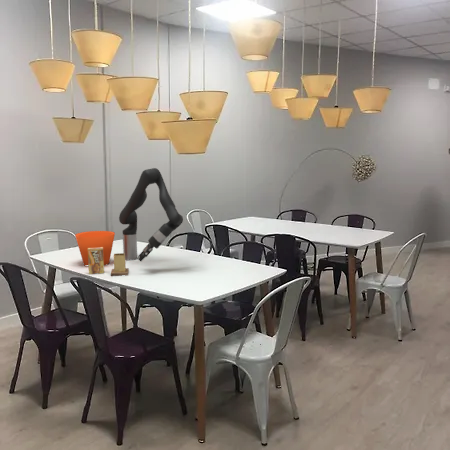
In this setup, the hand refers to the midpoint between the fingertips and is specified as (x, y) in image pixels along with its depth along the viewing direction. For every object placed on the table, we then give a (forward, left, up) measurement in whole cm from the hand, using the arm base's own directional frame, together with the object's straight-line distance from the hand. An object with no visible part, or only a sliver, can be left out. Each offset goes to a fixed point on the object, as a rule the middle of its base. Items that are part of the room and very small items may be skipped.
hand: (139, 258), depth 294 cm
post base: (+2, -12, -8) cm, 15 cm away
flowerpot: (-25, -32, -9) cm, 41 cm away
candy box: (+1, -26, -9) cm, 27 cm away
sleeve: (+2, -12, -7) cm, 14 cm away
